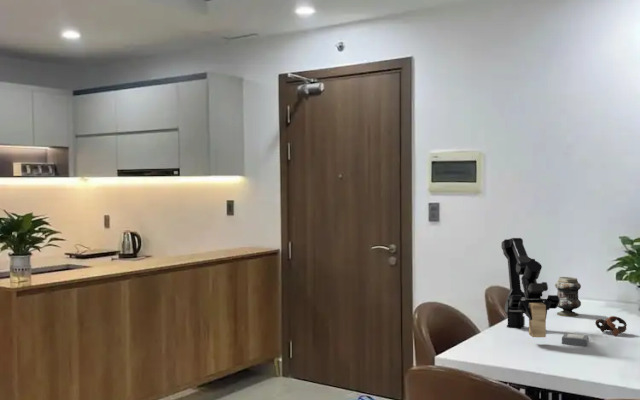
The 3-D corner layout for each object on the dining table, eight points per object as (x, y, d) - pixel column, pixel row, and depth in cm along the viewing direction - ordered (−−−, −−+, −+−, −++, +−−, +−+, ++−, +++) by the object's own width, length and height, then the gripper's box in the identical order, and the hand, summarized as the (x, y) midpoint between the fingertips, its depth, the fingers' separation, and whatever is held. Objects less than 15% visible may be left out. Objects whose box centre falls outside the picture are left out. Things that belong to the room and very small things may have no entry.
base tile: (561, 343, 257) (562, 337, 257) (564, 339, 265) (564, 332, 265) (586, 346, 253) (586, 339, 253) (588, 341, 261) (588, 334, 261)
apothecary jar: (583, 313, 319) (583, 277, 318) (578, 317, 308) (578, 279, 308) (557, 311, 325) (557, 275, 325) (551, 315, 315) (551, 278, 315)
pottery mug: (619, 332, 280) (627, 317, 276) (622, 346, 272) (630, 331, 268) (591, 324, 282) (598, 309, 278) (593, 338, 274) (600, 323, 270)
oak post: (528, 334, 259) (529, 302, 258) (541, 334, 258) (541, 302, 258) (532, 337, 254) (532, 305, 253) (545, 337, 253) (545, 305, 253)
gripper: (510, 274, 260) (517, 307, 249) (558, 275, 259) (567, 308, 248) (506, 291, 268) (512, 323, 257) (552, 291, 267) (560, 324, 256)
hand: (538, 319), depth 254 cm, fingers closed on oak post, 5 cm apart
